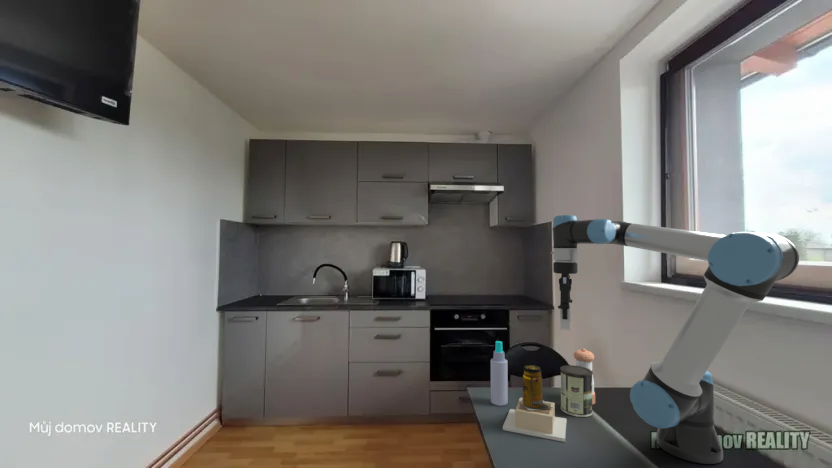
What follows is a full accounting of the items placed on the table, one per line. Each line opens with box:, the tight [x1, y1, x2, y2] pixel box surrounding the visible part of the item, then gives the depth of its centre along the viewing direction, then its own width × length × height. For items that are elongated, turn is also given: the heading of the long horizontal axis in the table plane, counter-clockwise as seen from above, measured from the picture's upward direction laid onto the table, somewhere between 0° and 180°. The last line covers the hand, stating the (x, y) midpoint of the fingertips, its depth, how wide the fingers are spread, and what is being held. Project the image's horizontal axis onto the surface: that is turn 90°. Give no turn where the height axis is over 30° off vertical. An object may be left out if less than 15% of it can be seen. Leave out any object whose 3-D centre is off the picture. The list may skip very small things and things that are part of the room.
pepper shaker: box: [573, 348, 596, 406], centre depth 139 cm, size 7×7×19 cm
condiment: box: [518, 364, 553, 410], centre depth 120 cm, size 7×8×12 cm
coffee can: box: [560, 364, 593, 418], centre depth 131 cm, size 10×10×14 cm
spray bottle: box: [490, 340, 509, 407], centre depth 137 cm, size 6×6×22 cm
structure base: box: [502, 397, 567, 443], centre depth 119 cm, size 18×14×6 cm
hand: (565, 325), depth 125 cm, fingers open, 13 cm apart
